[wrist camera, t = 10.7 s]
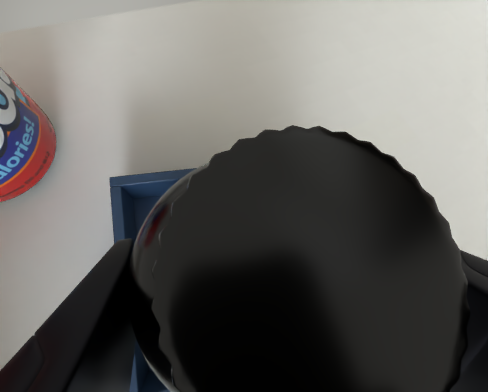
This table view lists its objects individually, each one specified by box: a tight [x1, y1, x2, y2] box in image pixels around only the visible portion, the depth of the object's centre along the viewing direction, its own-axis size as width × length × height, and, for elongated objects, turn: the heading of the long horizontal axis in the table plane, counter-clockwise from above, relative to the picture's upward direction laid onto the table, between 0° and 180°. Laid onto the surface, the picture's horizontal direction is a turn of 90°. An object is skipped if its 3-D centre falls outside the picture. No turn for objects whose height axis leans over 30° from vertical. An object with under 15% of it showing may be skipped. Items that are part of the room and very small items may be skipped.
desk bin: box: [110, 168, 197, 392], centre depth 18 cm, size 12×12×4 cm
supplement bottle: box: [127, 125, 471, 392], centre depth 10 cm, size 7×7×12 cm
